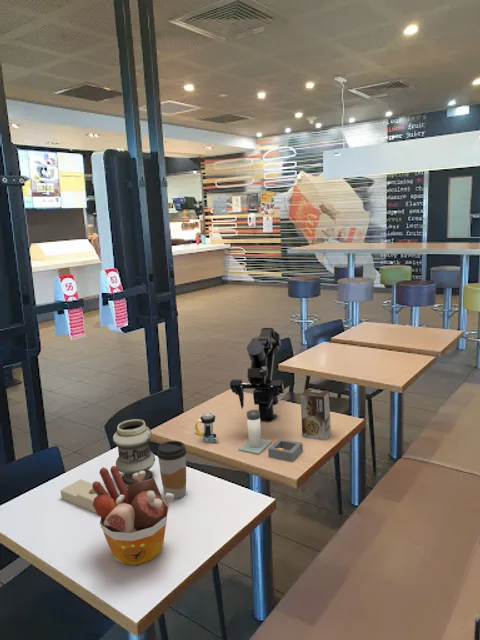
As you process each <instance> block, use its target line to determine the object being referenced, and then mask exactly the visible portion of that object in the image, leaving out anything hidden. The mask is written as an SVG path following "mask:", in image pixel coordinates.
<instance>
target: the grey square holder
mask: <svg viewBox="0 0 480 640" xmlns="http://www.w3.org/2000/svg"><path fill="white" fill-rule="evenodd" d="M303 447H304V446H303V442H302V441H296V440H295V441H294V440H290V439H284V438H278V439H277V440H276V441H274V443H272V444H271V446H269V447H267V448H268V449H267V453H268V458H269V459H276V460H280V461H287V462H291V463H293V462H295V460H296V459H297V457H299V456H300V455H301V454H302V452H303V449H304V448H303Z"/></svg>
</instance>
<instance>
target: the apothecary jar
mask: <svg viewBox="0 0 480 640" xmlns="http://www.w3.org/2000/svg"><path fill="white" fill-rule="evenodd" d="M116 427H117V428H116V431H115V433H114V434H113V437H112V442H113V443H114V444H115V445H116V446H117V450H118V457H117V459H116V460H115V466H116V467H117V468H118V470H119V472H120V473H121V474H123V475H121V477H122V479H123V481H124V484H125V486H127V487H128V486H130V485H132V484H135V483H139V482H138V481H137V480H135V479H133V478H132V475H133V474H134V473H139V472H140V471H145V472H146V475H145V477H144V479H143V481H145V480H148V479H152V478H154V474H153V472H152V471H151V470H150V469H151V468H152V467H153V466H154V464H155V462H156V457H155V456H156V455H155V454H154V452H152V451H151V448H150V441H151V439H152V437H153V434H152V430H151V429H150V428H149V427H148V426H147V425H146V422H145V421H144V420H143V419H138V418H134V419H128V420H124V421H122V422H120V423H118V425H117V426H116Z"/></svg>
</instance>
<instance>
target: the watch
mask: <svg viewBox="0 0 480 640" xmlns="http://www.w3.org/2000/svg"><path fill="white" fill-rule="evenodd" d="M198 423H201V424H203V423H202V421H201V419H200V418H199V419H198V420H197V421H196V422H195V425H194V430H195V432H196V434H198V436H200V435H201V436H203V433H204V432H201V431H200V430H199V429H198Z"/></svg>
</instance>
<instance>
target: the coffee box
mask: <svg viewBox="0 0 480 640" xmlns="http://www.w3.org/2000/svg"><path fill="white" fill-rule="evenodd" d="M299 398H300V410H301V411H300V413H301V414H300V415H301V417H300V418H301V437H302V438H308V439H309V438H310V439H315V440H324V441H326V440H327V439H328V438H329V437H330V436H331V434H332V431H331V430H332V429H331V428H332V427H331V398H330V391H329V390H328V391H327V390H321V389H320V390H317V389H309V388H308V389H305V390H304V391H303V392H302V393H301V394H300V397H299Z"/></svg>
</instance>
